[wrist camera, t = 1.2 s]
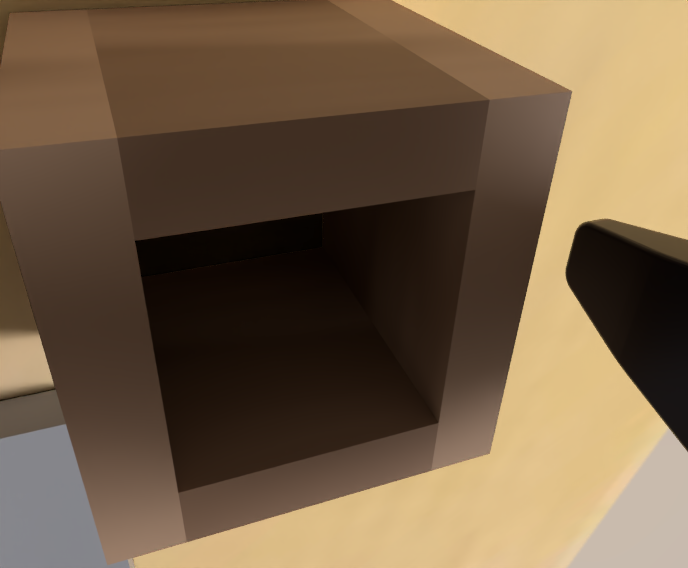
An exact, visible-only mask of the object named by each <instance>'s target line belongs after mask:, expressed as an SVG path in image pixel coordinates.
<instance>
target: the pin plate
mask: <svg viewBox="0 0 688 568" xmlns="http://www.w3.org/2000/svg"><path fill="white" fill-rule="evenodd" d="M0 568H135V566H134V562H133V558H131V559H127V560H124V561H121V562H117V563H114V564H110V565H107V562H106V559H105V555H104V552H103V549H102V545H101V542H100V538H99V535H98V532H97V528H96V525H95V521H94V518H93V515H92V511H91V508H90V505H89V501H88V498H87V494H86V491H85V488H84V484H83V481H82V477H81V474H80V471H79V467H78V464H77V460H76V457H75V454H74V450H73V447H72V443H71V440H70V437H69V433H68V430H67V426H66V423H65V420H64V416H63V413H62V409H61V406H60V403H59V399H58V396H57V392H56V390H51V391H47V392H42V393H37V394H32V395H28V396H23V397H18V398H13V399H8V400H4V401H0Z"/></svg>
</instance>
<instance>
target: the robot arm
mask: <svg viewBox="0 0 688 568" xmlns="http://www.w3.org/2000/svg"><path fill="white" fill-rule="evenodd" d="M566 280H567V283H568V285H569V287H570V289H571V290H572V292H573V293H574V295H575V297H576V298H577V300H578V301H579V303H580V304H581V306H582V308H583V309H584V311H585V312H586V314H587V315H588V317H589V318H590V320H591V322H592V323H593V325H594V326H595V328H596V329H597V331H598V333H599V334H600V336H601V337H602V339H603V340H604V342H605V344H606V345H607V347H608V348H609V350H610V351H611V353H612V354H613V356H614V357H615V359H616V360H617V362H618V363H619V364H620V366H621V367H622V368H623V370H624V371H625V372H626V374H627V375H628V376H629V378H630V379H631V380H632V382H633V383H634V384H635V385H636V387H637V388H638V389H639V390H640V392H641V393H642V394H643V396H644V397H645V398H646V399H647V401H648V402H649V403H650V404H651V406H652V407H653V408H654V410H655V411H656V412H657V413H658V415H659V416H660V417H661V418H662V420H663V421H664V422H665V424H666V425H667V426H668V427H669V429H670V430H671V431H672V432H673V434H674V435H675V436H676V438H677V439H678V440H679V441H680V443H681V444H682V445H683V446H684V448H685V449H686V450H687V451H688V240H686V239H682V238H678V237H675V236H671V235H667V234H663V233H660V232H656V231H652V230H648V229H645V228H641V227H637V226H633V225H630V224H626V223H622V222H618V221H615V220H611V219H599V220H593V221H588V222H584V223H582V224H581V225H579V227H578V228H577V230H576V232H575V235H574V239H573V243H572V247H571V251H570V254H569V258H568V262H567V266H566Z"/></svg>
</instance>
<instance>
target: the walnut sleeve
mask: <svg viewBox="0 0 688 568" xmlns="http://www.w3.org/2000/svg"><path fill="white" fill-rule="evenodd" d="M571 94H572V91H571V90H569V89H567V88H565V87H563V86H561V85H559V84H557V83H555V82H553V81H551V80H549V79H547V78H545V77H543V76H541V75H539V74H537V73H535V72H533V71H531V70H529V69H527V68H525V67H523V66H521V65H519V64H517V63H515V62H513V61H511V60H509V59H507V58H505V57H503V56H501V55H499V54H497V53H495V52H493V51H491V50H489V49H487V48H485V47H483V46H481V45H479V44H477V43H475V42H473V41H471V40H469V39H467V38H465V37H463V36H461V35H459V34H457V33H455V32H453V31H451V30H449V29H447V28H445V27H443V26H441V25H439V24H437V23H435V22H433V21H431V20H429V19H427V18H425V17H423V16H421V15H419V14H418V13H416V12H414V11H412V10H410V9H408V8H406V7H404V6H402V5H400V4H398V3H396V2H394V1H392V0H288V1H265V2H243V3H220V4H197V5H175V6H152V7H129V8H107V9H84V10H61V11H39V12H16V13H10V14H9V20H8V26H7V31H6V37H5V43H4V49H3V54H2V60H1V66H0V202H1V206H2V209H3V212H4V216H5V219H6V223H7V226H8V229H9V233H10V236H11V240H12V243H13V246H14V250H15V253H16V257H17V260H18V263H19V267H20V270H21V274H22V277H23V280H24V284H25V287H26V291H27V294H28V297H29V301H30V304H31V308H32V311H33V314H34V318H35V321H36V324H37V328H38V331H39V335H40V338H41V341H42V345H43V348H44V352H45V355H46V358H47V362H48V365H49V369H50V372H51V375H52V379H53V382H54V386H55V389H56V392H57V396H58V399H59V403H60V406H61V409H62V413H63V416H64V420H65V423H66V426H67V430H68V433H69V437H70V440H71V443H72V447H73V450H74V454H75V457H76V460H77V464H78V467H79V471H80V474H81V477H82V481H83V484H84V488H85V491H86V494H87V498H88V501H89V505H90V508H91V511H92V515H93V518H94V521H95V525H96V528H97V532H98V535H99V538H100V542H101V545H102V549H103V552H104V555H105V559H106V562H107V565H110V564H114V563H117V562H121V561H124V560H127V559H131V558H134V557H138V556H141V555H144V554H148V553H151V552H155V551H158V550H162V549H165V548H168V547H172V546H175V545H179V544H182V543H185V542H189V541H192V540H196V539H199V538H203V537H206V536H209V535H213V534H216V533H220V532H223V531H226V530H230V529H233V528H237V527H240V526H244V525H247V524H250V523H254V522H257V521H261V520H264V519H267V518H271V517H274V516H278V515H281V514H285V513H288V512H291V511H295V510H298V509H302V508H305V507H308V506H312V505H315V504H319V503H322V502H326V501H329V500H332V499H336V498H339V497H343V496H346V495H349V494H353V493H356V492H360V491H363V490H367V489H370V488H373V487H377V486H380V485H384V484H387V483H391V482H394V481H397V480H401V479H404V478H408V477H411V476H414V475H418V474H421V473H425V472H428V471H432V470H435V469H438V468H442V467H445V466H449V465H452V464H455V463H459V462H462V461H466V460H469V459H473V458H476V457H479V456H483V455H486V454H490V450H491V446H492V441H493V437H494V432H495V428H496V424H497V419H498V415H499V410H500V406H501V402H502V397H503V393H504V388H505V384H506V380H507V375H508V371H509V366H510V362H511V358H512V353H513V349H514V345H515V340H516V336H517V331H518V327H519V323H520V318H521V314H522V309H523V305H524V301H525V296H526V292H527V287H528V283H529V279H530V274H531V270H532V265H533V261H534V257H535V252H536V248H537V244H538V239H539V235H540V230H541V226H542V222H543V217H544V213H545V208H546V204H547V200H548V195H549V191H550V186H551V182H552V178H553V173H554V169H555V164H556V160H557V156H558V151H559V147H560V143H561V138H562V134H563V129H564V125H565V121H566V116H567V112H568V107H569V103H570V99H571ZM318 213H323V227H322V247H319V248H313V249H307V250H301V251H295V252H289V253H283V254H277V255H271V256H265V257H259V258H253V259H247V260H241V261H235V262H229V263H223V264H217V265H211V266H205V267H199V268H193V269H187V270H181V271H175V272H169V273H163V274H157V275H151V276H145V277H141V274H140V268H139V262H138V256H137V250H136V245H135V241H137V240H144V239H150V238H157V237H164V236H171V235H177V234H184V233H191V232H197V231H204V230H211V229H217V228H224V227H231V226H237V225H244V224H251V223H257V222H264V221H271V220H277V219H284V218H291V217H297V216H304V215H311V214H318Z"/></svg>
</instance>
